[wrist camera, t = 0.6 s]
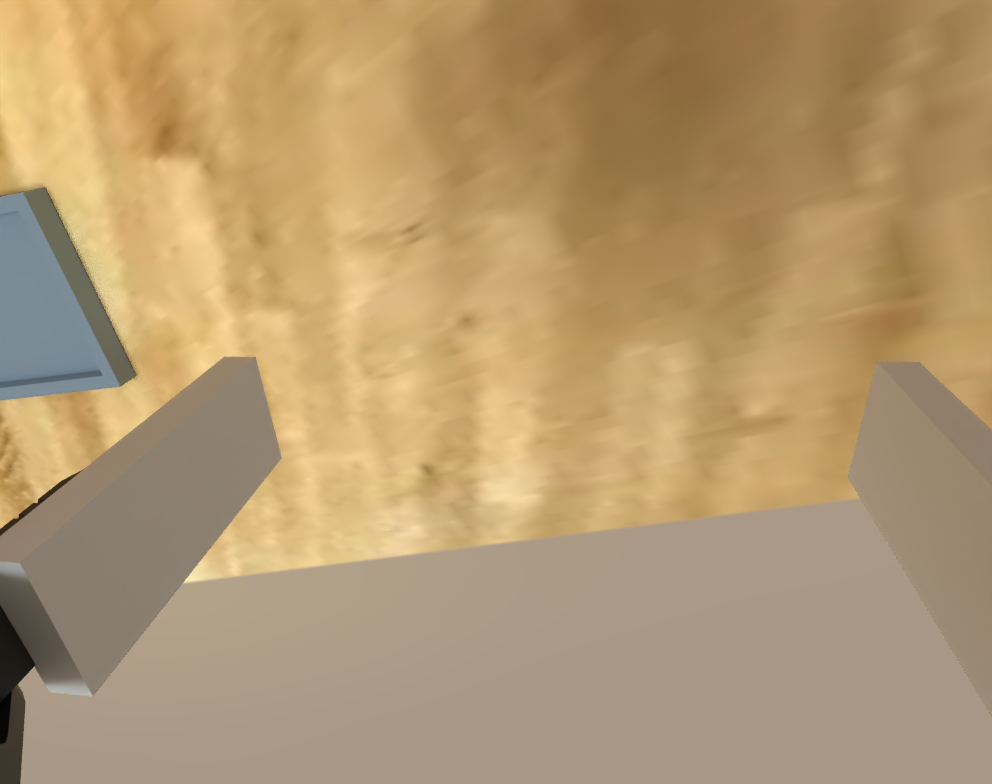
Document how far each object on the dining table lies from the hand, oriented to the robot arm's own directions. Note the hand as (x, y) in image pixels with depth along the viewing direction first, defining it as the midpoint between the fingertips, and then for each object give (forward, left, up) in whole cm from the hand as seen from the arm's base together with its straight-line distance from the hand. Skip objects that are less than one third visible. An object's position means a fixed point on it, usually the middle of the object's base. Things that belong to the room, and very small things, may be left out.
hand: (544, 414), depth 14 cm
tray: (+1, -42, -26) cm, 49 cm away
